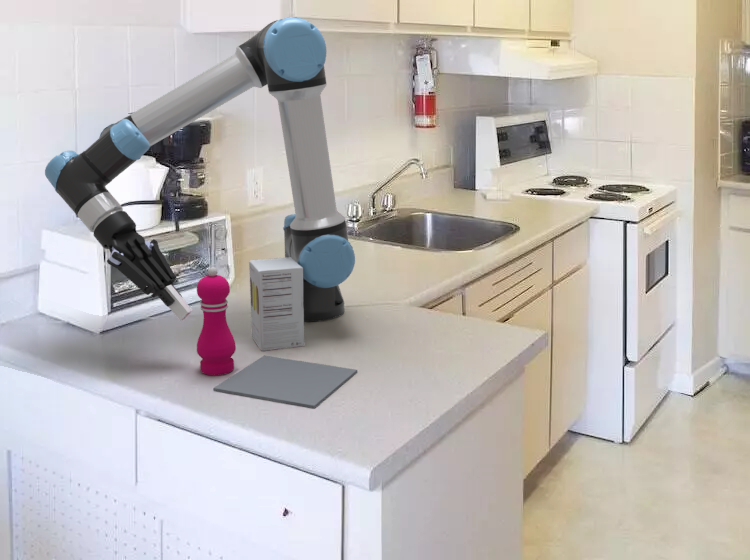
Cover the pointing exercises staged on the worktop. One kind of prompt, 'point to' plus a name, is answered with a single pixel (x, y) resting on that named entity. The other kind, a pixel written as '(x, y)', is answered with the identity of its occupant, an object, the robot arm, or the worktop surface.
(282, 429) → the worktop surface
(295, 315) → the supplement box
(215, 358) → the pepper mill
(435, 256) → the worktop surface
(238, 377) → the slate mat
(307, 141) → the robot arm
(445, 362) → the worktop surface
